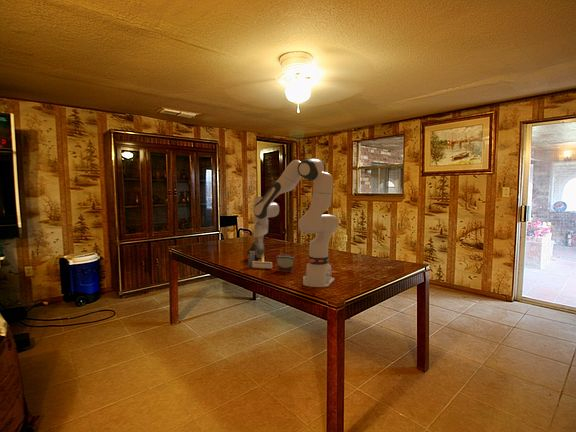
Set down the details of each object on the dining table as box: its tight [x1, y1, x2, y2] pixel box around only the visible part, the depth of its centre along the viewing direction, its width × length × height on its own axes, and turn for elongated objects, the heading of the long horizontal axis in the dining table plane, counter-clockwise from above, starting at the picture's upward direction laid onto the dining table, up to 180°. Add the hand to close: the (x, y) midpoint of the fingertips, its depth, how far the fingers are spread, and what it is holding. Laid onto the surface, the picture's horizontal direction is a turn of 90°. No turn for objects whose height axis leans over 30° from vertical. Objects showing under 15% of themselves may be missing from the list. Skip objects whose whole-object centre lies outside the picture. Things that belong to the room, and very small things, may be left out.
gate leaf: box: [252, 260, 273, 269], centre depth 211 cm, size 14×1×4 cm, turn 77°
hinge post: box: [247, 254, 253, 269], centre depth 213 cm, size 3×3×10 cm
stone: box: [246, 239, 265, 260], centre depth 241 cm, size 15×10×15 cm
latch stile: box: [250, 251, 256, 262], centre depth 227 cm, size 2×3×9 cm
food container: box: [275, 254, 295, 273], centre depth 206 cm, size 12×6×10 cm, turn 74°
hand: (261, 242), depth 203 cm, fingers closed
